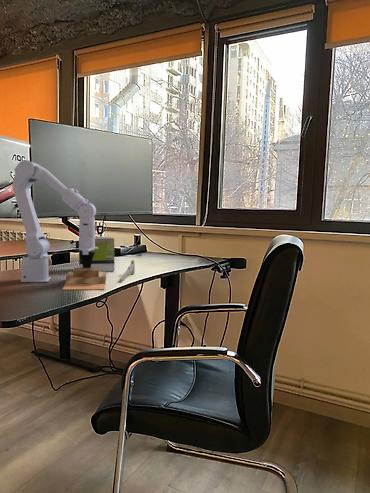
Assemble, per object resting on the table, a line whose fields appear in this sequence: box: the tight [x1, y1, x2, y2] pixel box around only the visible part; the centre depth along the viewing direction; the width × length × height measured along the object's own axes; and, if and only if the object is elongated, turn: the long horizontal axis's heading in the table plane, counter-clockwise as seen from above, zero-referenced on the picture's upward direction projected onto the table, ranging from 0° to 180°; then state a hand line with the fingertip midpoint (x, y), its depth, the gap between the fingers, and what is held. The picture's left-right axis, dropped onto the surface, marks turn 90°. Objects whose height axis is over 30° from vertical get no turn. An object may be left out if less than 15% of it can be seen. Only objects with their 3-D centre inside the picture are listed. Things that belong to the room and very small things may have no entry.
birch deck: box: [65, 271, 107, 285], centre depth 148 cm, size 14×10×3 cm
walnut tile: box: [72, 267, 99, 277], centre depth 145 cm, size 9×6×2 cm, turn 100°
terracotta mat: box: [61, 283, 106, 291], centre depth 139 cm, size 14×9×1 cm, turn 99°
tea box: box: [78, 236, 115, 272], centre depth 174 cm, size 15×10×15 cm
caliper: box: [118, 259, 136, 284], centre depth 158 cm, size 20×1×6 cm, turn 173°
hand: (87, 271), depth 149 cm, fingers closed
